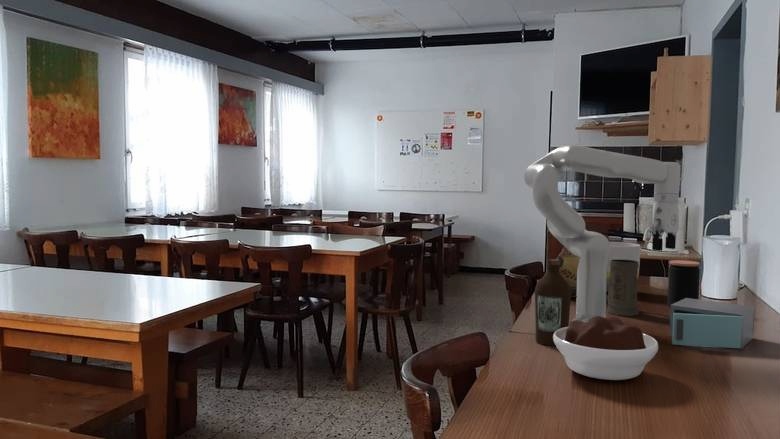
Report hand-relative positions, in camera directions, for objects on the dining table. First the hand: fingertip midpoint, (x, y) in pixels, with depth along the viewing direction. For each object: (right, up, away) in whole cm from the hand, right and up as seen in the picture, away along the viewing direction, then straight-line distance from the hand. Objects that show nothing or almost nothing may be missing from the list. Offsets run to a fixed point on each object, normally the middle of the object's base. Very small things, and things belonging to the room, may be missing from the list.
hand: (663, 249), depth 205 cm
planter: (+6, -22, +60) cm, 64 cm away
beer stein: (-5, -25, +21) cm, 33 cm away
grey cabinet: (+8, -27, -15) cm, 32 cm away
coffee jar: (+20, -24, +28) cm, 42 cm away
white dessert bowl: (-39, -29, -52) cm, 71 cm away
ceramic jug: (-17, -23, +53) cm, 60 cm away
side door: (+1, -27, -27) cm, 38 cm away
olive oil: (-44, -27, -22) cm, 56 cm away
